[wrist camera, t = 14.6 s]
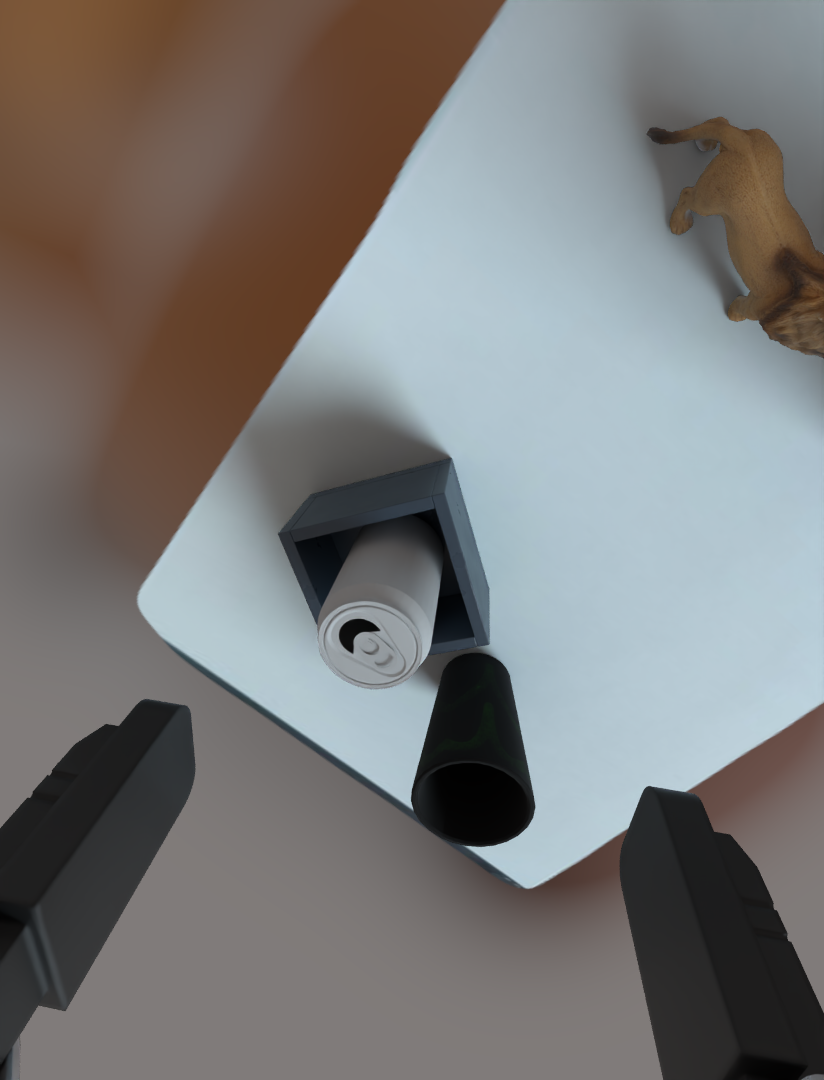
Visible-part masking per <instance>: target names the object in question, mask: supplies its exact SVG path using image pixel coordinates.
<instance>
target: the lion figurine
mask: <svg viewBox="0 0 824 1080" xmlns="http://www.w3.org/2000/svg"><path fill="white" fill-rule="evenodd" d="M647 135H648V136H649V137H650V138H651V139H652V140H653V141H654V142H656V143H659V144H676V143H680V142H685V141H690V140H695V141H696V144H697V146H698V148H699V149H700V150H701V151H711V150H713V149H715V148H716V146H717V143H718V142H720V143H721V145H720V147H719V152H720V153H719V154H718V155H717V156H716V157H715V158H714V159H713V160H712V161H711V162H710V163H709V164H708V166H707V167H706V168H705V170H704V171H703V173H702V174H701V176H700V178H699V179H698V181H697V183H696V185H695V186H694V187H686V188H684V189H683V190H682V192H681V194H680V197H679V201H678V203H677V206H676V207H675V209H674V211H673V213H672V215H671V218H670V229H671V232H672V233H674V234H677V235H681V234H683V233H685V232H686V231H688V230H689V229H690V228H691V227H692V226H693V216H692V213H691V211H693V212H695V213H697V214H699V215H701V216H709V215H721V216H722V217H723V219H724V222H725V227H726V233H727V243H728V250H729V254H730V257H731V260H732V262H733V264H734V266H735V268H736V270H737V272H738V273H739V275H740V276H741V278H742V280H743V282H744V283H745V285H746V286H747V288H748V289H749V290H750V292H749V294H748V296H744V295H740V296H738V297H737V298H736V299H735V300H734V301H733V302H732V303H731V304H730V307H729V309H728V317H729V319H730V320H732V321H736V322H738V321H742V320H745V319H746V318H747V319H749V320H759V324H760V325H761V326H762V328H763V330H764V331H765V332H766V333H767V334H768V336H769V339H771V340H774V341H779V343H780V344H782V345H784V346H787V347H788V348H790V349H792V350H798V351H800V352H802V353H804V354H806V355H818V356H820V357H823V358H824V255H823V254H822V253H821V252H819V251H816V250H815V248H814V245H813V242H812V240H811V237H810V234H809V232H808V230H807V228H806V226H805V224H804V223H803V221H802V219H801V218H800V216H799V214H798V213H797V212H796V211H795V209H794V208H793V206H792V205H791V204H790V202H789V201H788V199H787V197H786V194H785V191H784V183H783V157H782V153H781V151H780V149H779V147H778V146H777V144H776V143H775V142H774V141H773V139H772V138H771V137H770V136H769V135H768V134H767V133H766V132H765V131H763V130H760V129H750V130H742V129H739V128H737V127H735V126H732V125H730V124H729V122H728V120H727V119H725V118H723V117H716V118H714V119H710V120H707V121H705V122H704V123H702V124H701V125H697V126H694V127H692V128H689V129H685V130H680V131H673V132H671V131H666V130H665V129H659V128H650V129H649V130H648V131H647Z"/></svg>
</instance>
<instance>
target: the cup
mask: <svg viewBox="0 0 824 1080" xmlns="http://www.w3.org/2000/svg"><path fill="white" fill-rule="evenodd" d="M411 802H412V806H413V810H414V812H415V814H416V815H417V817H418V819H419V820H420V822H421V823H422V824H423V825H424V826H425V827H426V828H427V829H428V830H430V831H431V832H433V833H434V834H436V835H437V836H439V837H440V838H443V839H445V840H447V841H450V842H452V843H456V844H460V845H465V846H475V847H484V846H494V845H497V844H501V843H504V842H507V841H509V840H511V839H513V838H515V837H516V836H518V835H519V834H521V833H522V832H523V831H524V830H525V829H526V828H527V827H528V825H529V824H530V822H531V820H532V819H533V816H534V811H535V802H534V795H533V790H532V785H531V780H530V775H529V770H528V765H527V760H526V755H525V750H524V745H523V740H522V735H521V730H520V725H519V720H518V715H517V710H516V705H515V700H514V695H513V690H512V685H511V680H510V675H509V673H508V671H507V669H506V668H505V666H504V665H503V664H502V663H501V662H499V661H498V660H497V659H495V658H493V657H491V656H489V655H485V654H480V653H469V654H464V655H461V656H459V657H456V658H454V659H453V660H452V661H450V662H449V663H448V665H447V666H446V667H445V669H444V671H443V674H442V677H441V681H440V685H439V689H438V693H437V696H436V700H435V704H434V708H433V712H432V715H431V719H430V723H429V727H428V731H427V734H426V738H425V742H424V746H423V750H422V753H421V757H420V761H419V765H418V769H417V773H416V776H415V780H414V784H413V788H412V795H411Z"/></svg>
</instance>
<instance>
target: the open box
mask: <svg viewBox="0 0 824 1080" xmlns="http://www.w3.org/2000/svg"><path fill="white" fill-rule="evenodd" d="M409 514H410V515H413V516H416V517H418V518H420V519H422V520H423V521H425V522H426V523H428V524H429V525H430V526H431V527H432V528H433V529H434V530H435V532H436V533H437V535H438V536H439V538H440V540H441V543H442V546H443V551H444V562H443V569H442V575H441V582H440V589H439V595H438V602H437V608H436V615H435V622H434V628H433V635H432V642H431V647H430V650H429V653H428V655H434V654H439V653H445V652H451V651H456V650H462V649H467V648H473V647H477V646H484V645H489V644H490V629H489V587H488V584H487V580H486V576H485V573H484V569H483V566H482V562H481V559H480V555H479V552H478V548H477V545H476V541H475V538H474V534H473V531H472V527H471V524H470V520H469V517H468V513H467V510H466V506H465V503H464V499H463V495H462V492H461V488H460V485H459V481H458V478H457V474H456V471H455V467H454V464H453V460H452V458H449V459H446V460H442V461H438V462H434V463H430V464H426V465H423V466H419V467H415V468H411V469H407V470H403V471H400V472H396V473H392V474H388V475H384V476H380V477H376V478H373V479H369V480H365V481H361V482H357V483H353V484H350V485H346V486H342V487H338V488H334V489H330V490H327V491H323V492H319V493H315V494H311V495H310V496H309V497H308V498H307V499H306V501H305V502H304V503H303V504H302V505H301V507H300V508H299V509H298V510H297V511H296V513H295V514H294V515H293V516H292V518H291V519H290V520H289V521H288V522H287V524H286V525H285V526H284V527H283V528H282V530H281V531H280V532H279V533H278V535H279V538H280V540H281V542H282V545H283V547H284V549H285V552H286V554H287V556H288V559H289V561H290V563H291V566H292V568H293V570H294V573H295V575H296V577H297V580H298V582H299V584H300V587H301V589H302V591H303V594H304V596H305V598H306V601H307V603H308V605H309V608H310V610H311V612H312V615H313V617H314V619H315V622H316V624H317V625H318V617H319V614H320V611H321V608H322V606H323V604H324V602H325V600H326V598H327V596H328V594H329V592H330V590H331V588H332V586H333V584H334V582H335V580H336V578H337V576H338V574H339V572H340V570H341V568H342V566H343V564H344V562H345V560H346V558H347V556H348V554H349V552H350V550H351V548H352V546H353V544H354V542H355V540H356V538H357V536H358V534H359V532H360V531H361V529H362V528H363V527H364V526H365V525H368V524H372V523H376V522H380V521H384V520H389V519H393V518H397V517H401V516H405V515H409ZM428 655H427V656H428Z"/></svg>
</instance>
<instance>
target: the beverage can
mask: <svg viewBox="0 0 824 1080" xmlns="http://www.w3.org/2000/svg"><path fill="white" fill-rule="evenodd" d="M443 562H444V551H443V546H442V543H441V540H440V538H439V536H438V535H437V533H436V532H435V530H434V529H433V528H432V527H431V526H430V525H429V524H428V523H426V522H425V521H423V520H422V519H420V518H418V517H416V516H413V515H410V514H409V515H405V516H401V517H397V518H393V519H389V520H384V521H380V522H376V523H372V524H368V525H365V526H364V527H363V528H362V529H361V531H360V532H359V534H358V536H357V538H356V540H355V542H354V544H353V546H352V548H351V550H350V552H349V554H348V556H347V558H346V560H345V562H344V564H343V566H342V568H341V570H340V572H339V574H338V576H337V578H336V580H335V582H334V584H333V586H332V588H331V590H330V592H329V594H328V596H327V598H326V600H325V602H324V604H323V606H322V608H321V611H320V614H319V617H318V625H317V629H318V646H319V650H320V654H321V656H322V658H323V660H324V662H325V663H326V665H327V666H328V667H329V669H330V670H331V671H332V672H333V673H334V674H336V675H337V676H338V677H340V678H341V679H343V680H344V681H346V682H348V683H350V684H352V685H355V686H358V687H362V688H367V689H386V688H390V687H394V686H397V685H399V684H401V683H403V682H405V681H406V680H408V679H409V678H410V677H411V676H412V675H413V674H414V673H415V672H416V670H417V669H418V667H419V666H420V665H421V664H422V662H423V661H424V660H425V658H426V657H427V655H428V653H429V650H430V647H431V642H432V635H433V628H434V622H435V615H436V608H437V602H438V595H439V589H440V582H441V575H442V569H443Z"/></svg>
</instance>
